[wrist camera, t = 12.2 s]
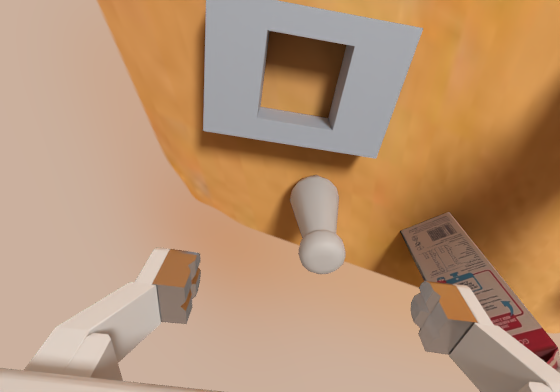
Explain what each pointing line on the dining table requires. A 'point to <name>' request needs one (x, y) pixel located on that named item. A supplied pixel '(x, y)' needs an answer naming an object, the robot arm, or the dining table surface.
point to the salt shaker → (318, 224)
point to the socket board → (350, 86)
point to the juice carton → (475, 280)
